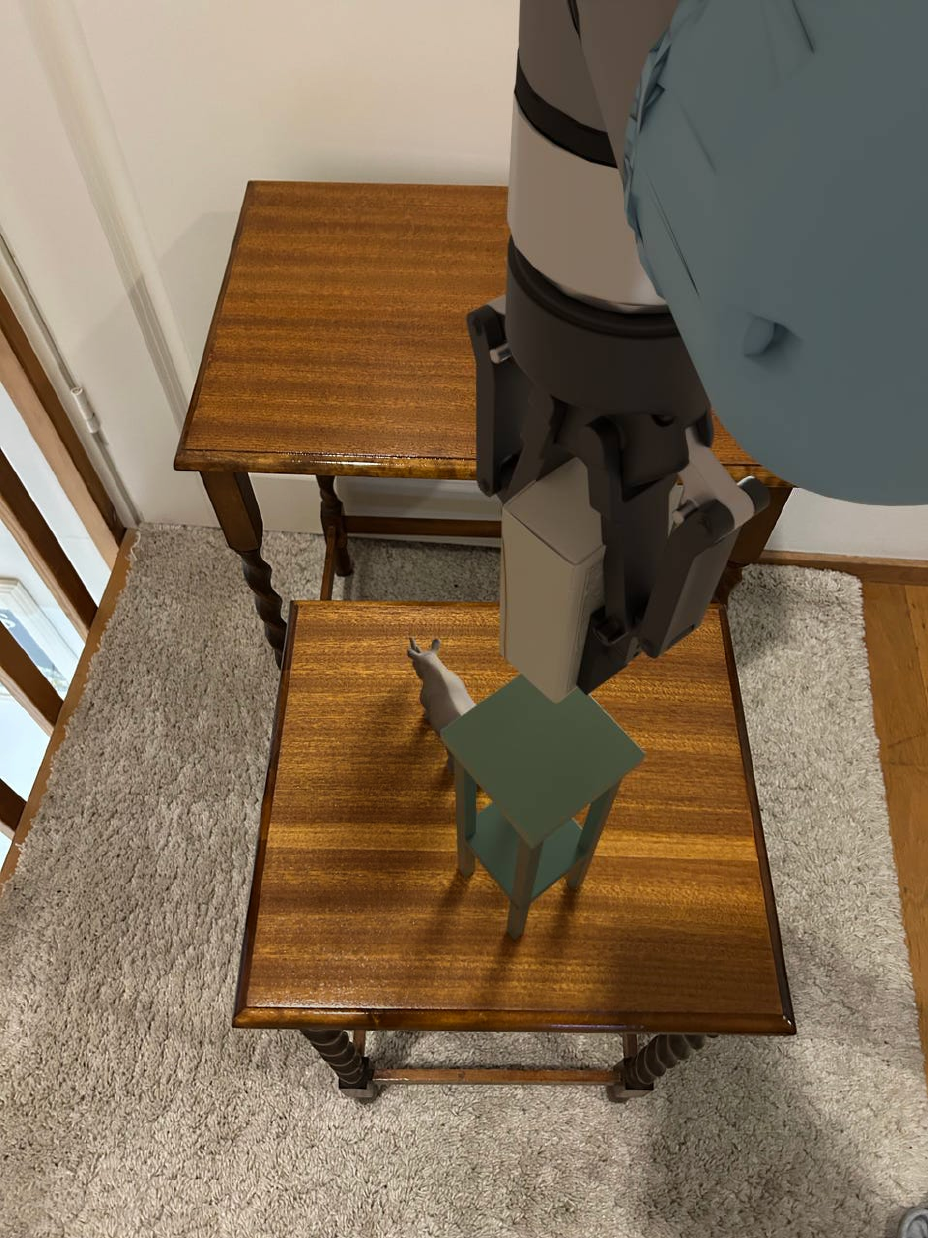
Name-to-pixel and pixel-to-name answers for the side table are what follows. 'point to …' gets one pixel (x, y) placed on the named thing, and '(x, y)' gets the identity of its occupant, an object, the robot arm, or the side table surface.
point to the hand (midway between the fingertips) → (566, 638)
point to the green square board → (541, 754)
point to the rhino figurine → (439, 691)
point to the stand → (524, 848)
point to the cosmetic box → (551, 578)
